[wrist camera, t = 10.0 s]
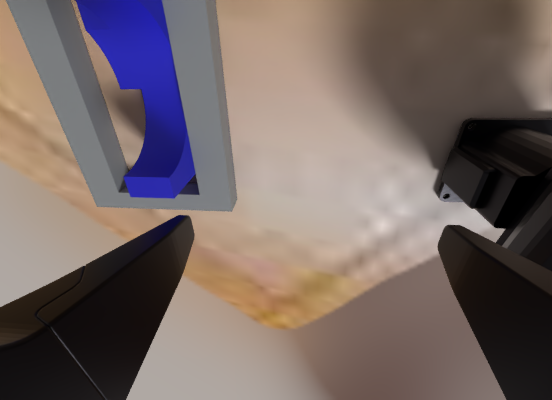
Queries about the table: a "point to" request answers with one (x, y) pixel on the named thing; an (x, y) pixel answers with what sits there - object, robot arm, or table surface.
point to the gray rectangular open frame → (94, 114)
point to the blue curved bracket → (146, 89)
